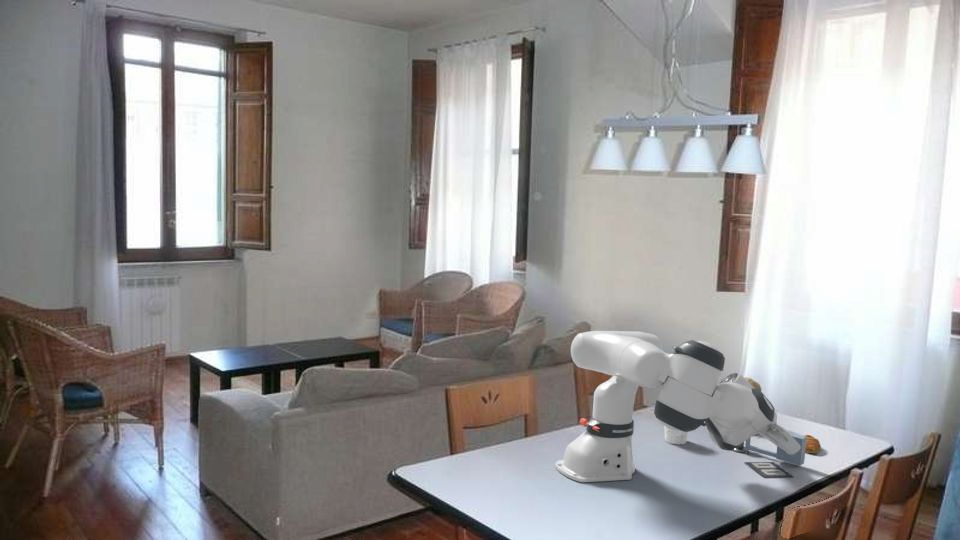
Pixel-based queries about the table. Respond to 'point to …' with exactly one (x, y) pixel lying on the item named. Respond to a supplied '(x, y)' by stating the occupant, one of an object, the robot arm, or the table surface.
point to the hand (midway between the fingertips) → (788, 451)
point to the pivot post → (741, 448)
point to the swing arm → (781, 455)
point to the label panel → (768, 469)
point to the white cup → (675, 436)
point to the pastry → (812, 444)
